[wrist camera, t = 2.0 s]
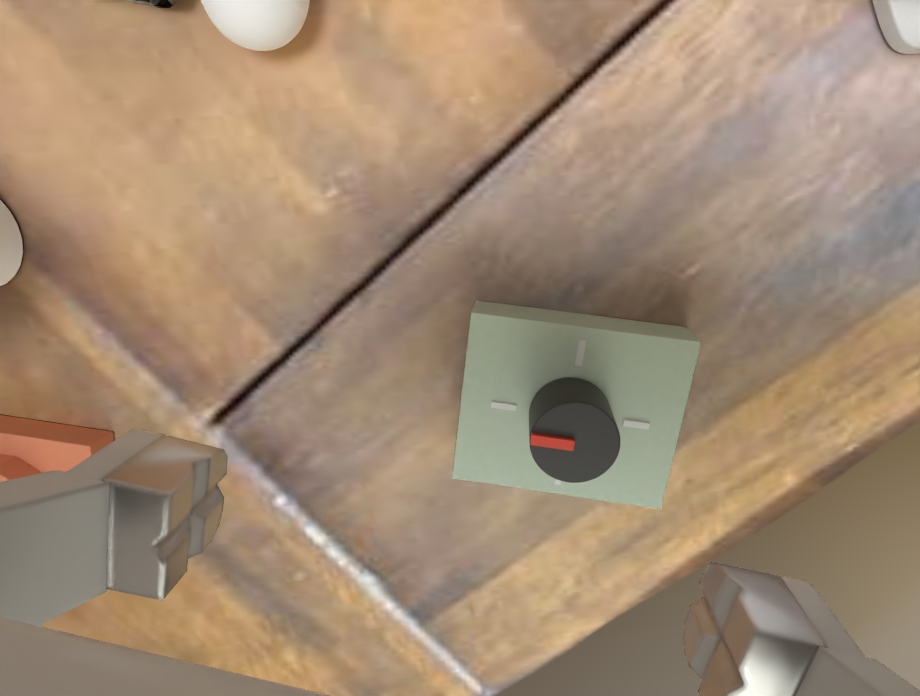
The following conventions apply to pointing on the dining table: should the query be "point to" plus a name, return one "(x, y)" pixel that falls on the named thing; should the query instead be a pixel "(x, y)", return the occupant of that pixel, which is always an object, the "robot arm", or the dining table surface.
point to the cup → (9, 245)
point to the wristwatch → (156, 3)
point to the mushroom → (258, 21)
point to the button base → (45, 446)
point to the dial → (572, 430)
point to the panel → (577, 356)
